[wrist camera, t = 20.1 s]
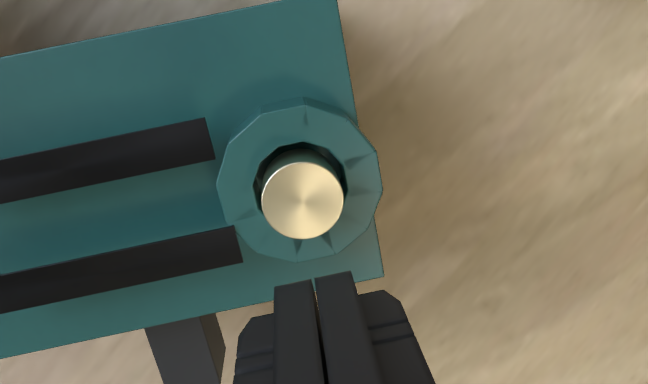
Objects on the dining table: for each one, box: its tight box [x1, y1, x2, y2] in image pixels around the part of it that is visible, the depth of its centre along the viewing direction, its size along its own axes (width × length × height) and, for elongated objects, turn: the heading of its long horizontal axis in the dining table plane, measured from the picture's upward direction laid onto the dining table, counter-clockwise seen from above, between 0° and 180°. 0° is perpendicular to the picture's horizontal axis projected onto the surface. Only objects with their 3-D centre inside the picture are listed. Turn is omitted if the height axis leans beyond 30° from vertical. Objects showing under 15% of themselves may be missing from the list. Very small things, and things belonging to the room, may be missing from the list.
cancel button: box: [261, 149, 344, 239], centre depth 17 cm, size 3×3×2 cm
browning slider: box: [144, 313, 226, 384], centre depth 26 cm, size 5×3×3 cm, turn 11°
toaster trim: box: [0, 117, 243, 314], centre depth 21 cm, size 8×13×7 cm, turn 101°
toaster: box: [0, 0, 384, 359], centre depth 24 cm, size 11×16×13 cm
